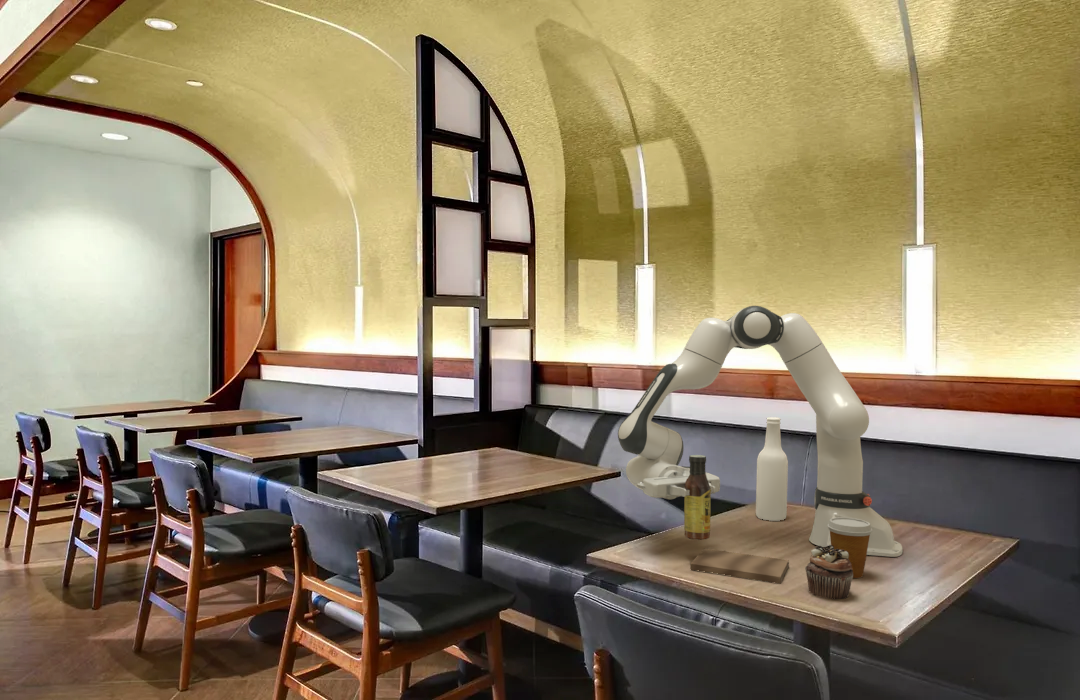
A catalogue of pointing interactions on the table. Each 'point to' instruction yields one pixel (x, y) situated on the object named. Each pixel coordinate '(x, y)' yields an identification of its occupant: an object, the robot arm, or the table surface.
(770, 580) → the walnut board
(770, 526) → the table surface
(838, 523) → the disposable coffee cup
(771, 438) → the alcohol
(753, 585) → the table surface
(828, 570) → the cupcake
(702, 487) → the sauce bottle
